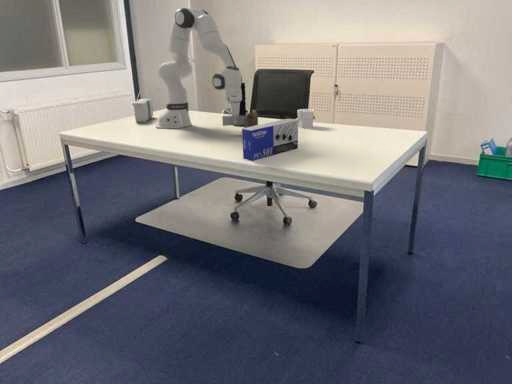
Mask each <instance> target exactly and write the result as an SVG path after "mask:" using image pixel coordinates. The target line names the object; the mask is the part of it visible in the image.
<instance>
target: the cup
mask: <svg viewBox="0 0 512 384" xmlns="http://www.w3.org/2000/svg"><path fill="white" fill-rule="evenodd" d="M296 111H297V112H296V113H297V120H298V128H300V129H310V128H312V127H313V125H314V116H315V115H314V114H315V109H314V108H313V109H312V108H301V109H297V110H296Z"/></svg>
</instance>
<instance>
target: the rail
mask: <svg viewBox="0 0 512 384" xmlns="http://www.w3.org/2000/svg"><path fill="white" fill-rule="evenodd" d="M251 116H252V112H246V115H239V116H237V123H234V119H233V116H232V114H231V115H230V114H229V115H222V116H221V118H222V126H224V127H225V126H233V125H245V118H251Z"/></svg>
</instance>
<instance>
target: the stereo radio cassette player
mask: <svg viewBox="0 0 512 384" xmlns="http://www.w3.org/2000/svg"><path fill="white" fill-rule="evenodd" d="M141 90H142V89H141V88H140V89H139V93H138V95H137V98H136V101H133V102H132V107H133V111H134V118H135V123H146V122H147V121H148V120H150V119H151V118H152V117H154V108H153V101H152V99H151V98H140V99H139V96H140V92H141Z"/></svg>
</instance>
